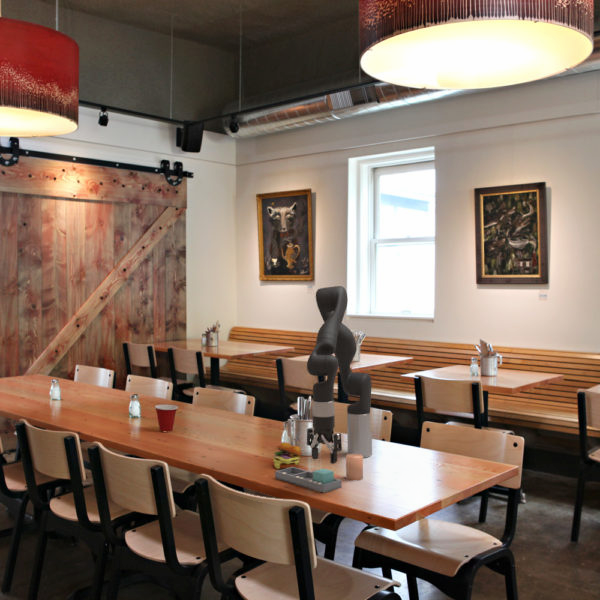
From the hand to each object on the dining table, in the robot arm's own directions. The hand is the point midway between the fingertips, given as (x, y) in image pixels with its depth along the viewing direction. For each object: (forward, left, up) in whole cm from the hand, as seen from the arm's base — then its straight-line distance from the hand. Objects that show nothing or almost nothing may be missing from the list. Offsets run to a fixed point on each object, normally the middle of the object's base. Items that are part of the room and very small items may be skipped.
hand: (324, 461), depth 234 cm
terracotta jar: (-16, 0, -9) cm, 18 cm away
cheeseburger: (-10, -29, -9) cm, 32 cm away
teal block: (0, 0, -8) cm, 8 cm away
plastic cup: (-12, -115, -9) cm, 116 cm away
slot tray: (0, -8, -9) cm, 12 cm away
